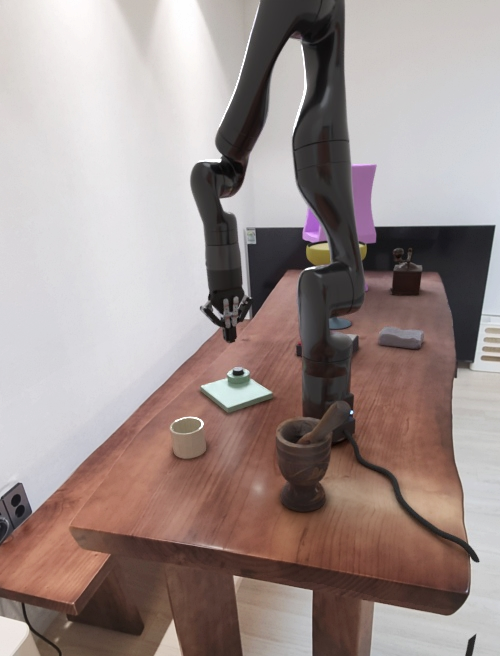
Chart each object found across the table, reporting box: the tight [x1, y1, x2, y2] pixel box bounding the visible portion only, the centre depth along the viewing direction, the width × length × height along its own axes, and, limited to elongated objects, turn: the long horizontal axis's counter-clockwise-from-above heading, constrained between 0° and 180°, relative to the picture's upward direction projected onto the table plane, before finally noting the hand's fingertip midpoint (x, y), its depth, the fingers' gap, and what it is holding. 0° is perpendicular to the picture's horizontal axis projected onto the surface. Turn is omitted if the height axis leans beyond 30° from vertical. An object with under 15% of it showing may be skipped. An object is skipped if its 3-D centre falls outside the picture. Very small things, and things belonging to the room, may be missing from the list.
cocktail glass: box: [305, 241, 368, 330], centre depth 147 cm, size 18×18×25 cm
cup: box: [169, 416, 207, 460], centre depth 90 cm, size 6×6×6 cm
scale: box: [199, 368, 274, 414], centre depth 111 cm, size 14×12×3 cm
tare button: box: [232, 366, 244, 376], centre depth 115 cm, size 3×3×2 cm
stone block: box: [378, 325, 425, 350], centre depth 134 cm, size 12×5×10 cm
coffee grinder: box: [389, 247, 423, 297], centre depth 175 cm, size 16×11×18 cm
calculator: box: [295, 333, 360, 357], centre depth 131 cm, size 11×4×15 cm
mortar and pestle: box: [275, 401, 351, 513], centre depth 71 cm, size 12×9×20 cm
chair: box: [302, 163, 378, 292], centre depth 183 cm, size 22×22×45 cm
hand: (230, 341), depth 107 cm, fingers closed
